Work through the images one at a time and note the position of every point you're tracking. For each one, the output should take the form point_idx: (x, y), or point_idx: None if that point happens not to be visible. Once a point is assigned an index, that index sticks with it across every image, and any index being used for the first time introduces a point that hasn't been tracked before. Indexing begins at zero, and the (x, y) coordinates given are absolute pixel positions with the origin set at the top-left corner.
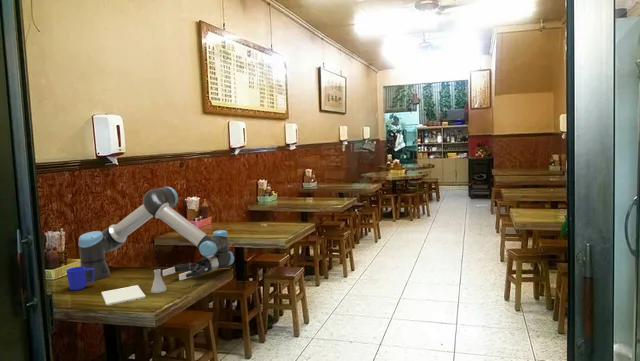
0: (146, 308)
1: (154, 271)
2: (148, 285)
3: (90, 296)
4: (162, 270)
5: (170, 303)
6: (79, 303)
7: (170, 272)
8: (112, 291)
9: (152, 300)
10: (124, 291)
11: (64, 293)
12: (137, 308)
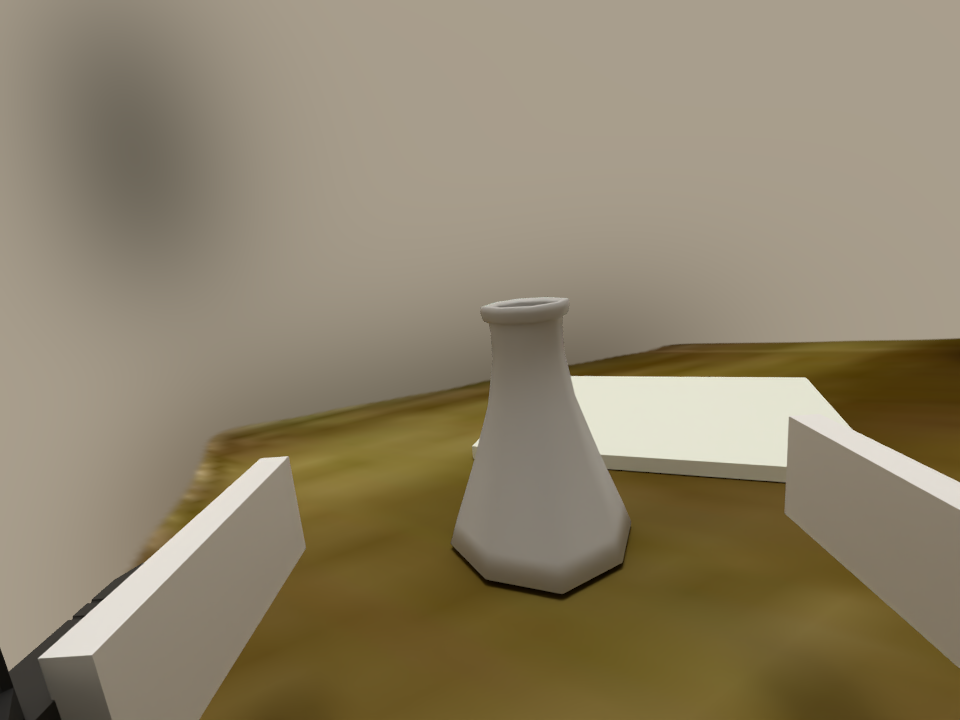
0: (305, 432)
1: (516, 302)
2: None
3: (778, 372)
4: (815, 415)
5: (185, 494)
6: (680, 359)
7: (912, 586)
8: (773, 394)
9: (374, 464)
10: (714, 415)
11: (929, 345)
12: (358, 419)
